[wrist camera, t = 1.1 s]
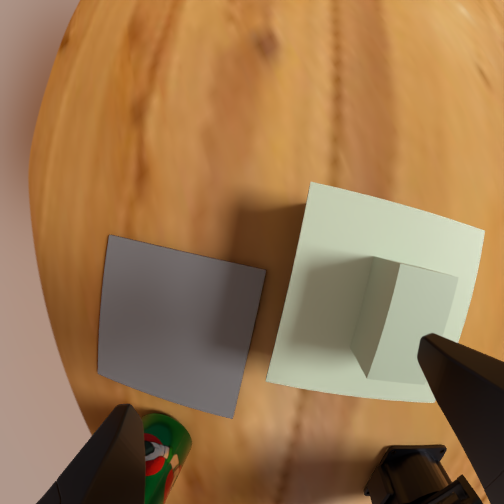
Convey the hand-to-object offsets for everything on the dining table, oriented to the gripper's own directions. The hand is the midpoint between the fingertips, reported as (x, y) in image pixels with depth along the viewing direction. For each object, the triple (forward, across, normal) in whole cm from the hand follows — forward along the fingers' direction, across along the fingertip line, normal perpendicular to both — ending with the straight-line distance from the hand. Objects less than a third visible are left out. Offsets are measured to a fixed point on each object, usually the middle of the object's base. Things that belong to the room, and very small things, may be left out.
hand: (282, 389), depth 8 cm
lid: (+7, -7, +3) cm, 10 cm away
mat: (+13, +6, +6) cm, 16 cm away
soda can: (+10, +10, +15) cm, 21 cm away
